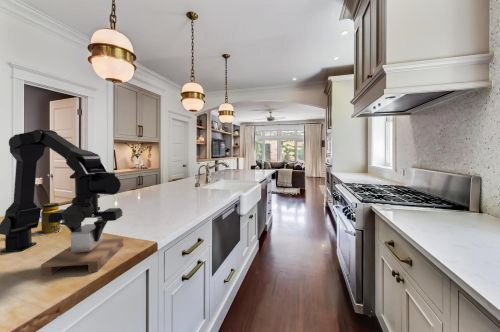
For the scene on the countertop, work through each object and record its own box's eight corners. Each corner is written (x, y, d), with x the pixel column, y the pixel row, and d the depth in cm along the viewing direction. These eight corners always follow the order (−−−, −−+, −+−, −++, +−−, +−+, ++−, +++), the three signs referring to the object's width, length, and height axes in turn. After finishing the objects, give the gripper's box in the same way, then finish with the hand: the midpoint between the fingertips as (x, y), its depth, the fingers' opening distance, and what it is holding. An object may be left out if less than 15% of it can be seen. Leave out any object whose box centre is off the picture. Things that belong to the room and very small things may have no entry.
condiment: (62, 231, 94) (61, 204, 94) (34, 236, 88) (33, 207, 88) (61, 227, 99) (60, 201, 99) (34, 232, 94) (33, 204, 93)
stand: (80, 248, 78) (80, 239, 78) (123, 245, 80) (123, 237, 80) (41, 275, 60) (41, 264, 60) (97, 271, 63) (97, 261, 62)
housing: (86, 241, 74) (85, 224, 73) (102, 241, 74) (102, 223, 74) (71, 252, 66) (70, 232, 65) (89, 251, 67) (89, 231, 66)
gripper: (31, 198, 60) (33, 254, 61) (106, 197, 63) (107, 250, 64) (60, 191, 71) (61, 239, 71) (122, 191, 74) (123, 236, 75)
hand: (87, 241), depth 70 cm, fingers closed on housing, 5 cm apart
